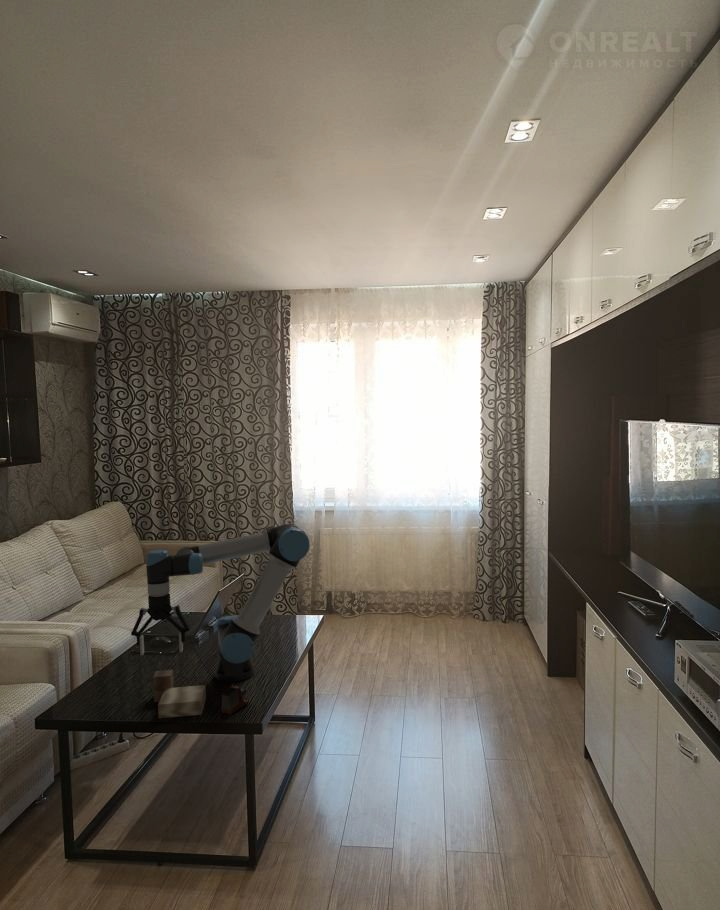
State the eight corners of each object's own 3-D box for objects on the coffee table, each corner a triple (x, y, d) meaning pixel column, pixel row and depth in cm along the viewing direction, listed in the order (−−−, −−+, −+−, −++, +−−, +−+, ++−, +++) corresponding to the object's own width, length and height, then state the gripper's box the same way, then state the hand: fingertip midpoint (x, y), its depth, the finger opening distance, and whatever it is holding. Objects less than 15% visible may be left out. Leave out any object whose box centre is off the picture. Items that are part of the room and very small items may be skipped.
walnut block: (174, 693, 235) (172, 669, 234) (171, 700, 229) (170, 675, 228) (157, 695, 234) (156, 671, 234) (154, 702, 228) (153, 677, 228)
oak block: (206, 698, 230) (205, 685, 230) (201, 715, 216) (200, 700, 216) (166, 702, 229) (165, 688, 228) (158, 719, 215) (158, 704, 214)
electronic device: (250, 704, 223) (248, 683, 223) (230, 715, 215) (229, 693, 214) (240, 702, 225) (239, 681, 225) (221, 713, 217) (219, 691, 217)
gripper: (195, 589, 235) (198, 646, 236) (125, 593, 232) (128, 651, 233) (193, 594, 228) (196, 652, 229) (120, 599, 225) (123, 658, 225)
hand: (162, 652), depth 231 cm, fingers open, 13 cm apart
